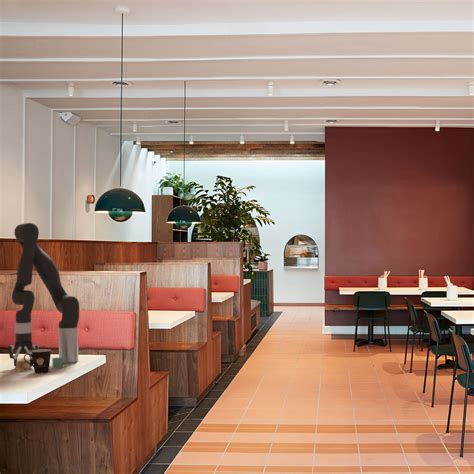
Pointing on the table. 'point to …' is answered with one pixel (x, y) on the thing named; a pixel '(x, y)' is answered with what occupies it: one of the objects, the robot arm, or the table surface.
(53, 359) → the green cube
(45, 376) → the table surface
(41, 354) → the coffee mug
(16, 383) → the table surface
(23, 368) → the oak block
